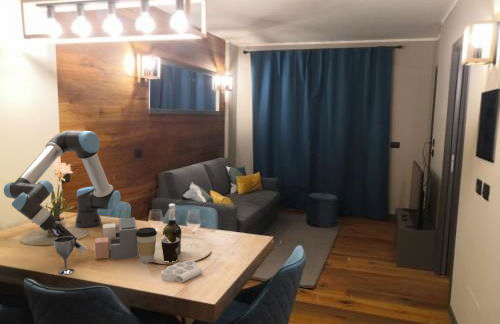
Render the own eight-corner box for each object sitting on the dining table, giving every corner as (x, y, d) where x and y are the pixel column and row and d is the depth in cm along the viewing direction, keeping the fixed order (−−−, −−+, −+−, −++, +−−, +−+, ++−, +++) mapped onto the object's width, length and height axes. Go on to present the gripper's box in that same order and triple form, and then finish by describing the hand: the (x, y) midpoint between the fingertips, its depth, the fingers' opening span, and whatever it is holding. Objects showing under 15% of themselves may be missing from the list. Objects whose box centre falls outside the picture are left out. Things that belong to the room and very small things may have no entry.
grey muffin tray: (177, 287, 164) (154, 277, 173) (207, 273, 179) (184, 265, 187) (177, 279, 164) (153, 270, 173) (207, 265, 178) (184, 258, 187)
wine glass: (53, 271, 177) (51, 239, 175) (71, 266, 183) (69, 235, 181) (60, 277, 172) (58, 243, 170) (78, 271, 178) (77, 238, 176)
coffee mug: (169, 265, 186) (169, 244, 185) (157, 260, 191) (157, 240, 190) (188, 257, 195) (187, 238, 194) (176, 253, 200) (175, 234, 199)
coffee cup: (150, 255, 198) (150, 225, 196) (161, 260, 191) (161, 230, 189) (132, 260, 191) (131, 229, 189) (143, 266, 185) (142, 234, 183)
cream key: (103, 246, 209) (103, 224, 207) (116, 245, 211) (115, 223, 209) (103, 251, 202) (102, 228, 201) (116, 250, 204) (115, 227, 203)
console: (111, 244, 213) (110, 218, 211) (135, 242, 216) (134, 216, 215) (111, 259, 192) (110, 230, 190) (137, 257, 196) (136, 228, 194)
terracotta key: (96, 253, 199) (95, 238, 198) (108, 252, 201) (108, 237, 199) (95, 258, 192) (94, 242, 191) (108, 257, 194) (108, 241, 193)
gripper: (41, 221, 192) (80, 251, 199) (36, 229, 179) (78, 261, 187) (52, 210, 193) (91, 240, 200) (48, 217, 180) (90, 249, 188)
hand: (85, 250), depth 193 cm, fingers closed
